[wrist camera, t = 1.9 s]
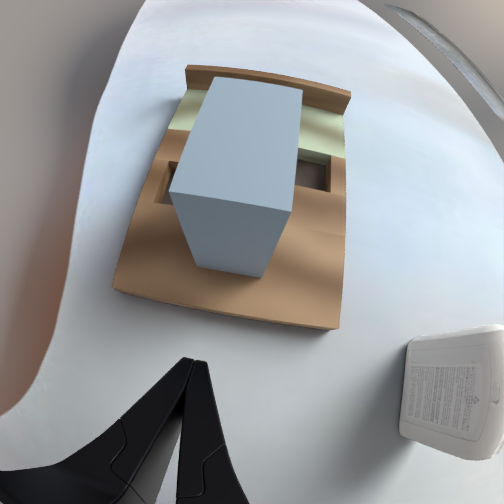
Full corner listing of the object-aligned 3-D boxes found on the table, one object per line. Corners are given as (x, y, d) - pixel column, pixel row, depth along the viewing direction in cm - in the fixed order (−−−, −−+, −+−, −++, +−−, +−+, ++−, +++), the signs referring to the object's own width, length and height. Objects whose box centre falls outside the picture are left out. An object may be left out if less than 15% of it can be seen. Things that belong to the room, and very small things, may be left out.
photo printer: (426, 431, 19) (516, 453, 8) (393, 440, 19) (484, 475, 8) (434, 334, 23) (532, 314, 11) (402, 336, 23) (505, 316, 11)
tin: (261, 278, 21) (291, 211, 11) (196, 266, 21) (168, 191, 11) (275, 188, 24) (302, 89, 14) (218, 178, 24) (214, 76, 14)
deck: (330, 330, 22) (354, 325, 18) (120, 291, 22) (95, 277, 17) (337, 120, 30) (350, 91, 26) (191, 96, 30) (187, 64, 25)
